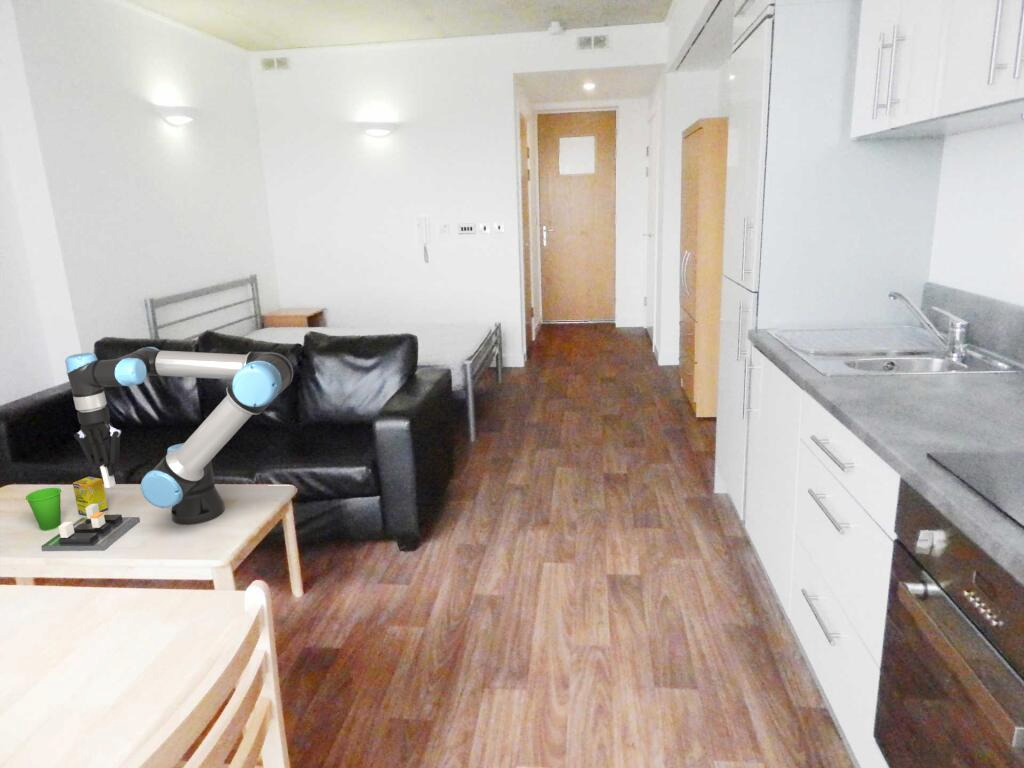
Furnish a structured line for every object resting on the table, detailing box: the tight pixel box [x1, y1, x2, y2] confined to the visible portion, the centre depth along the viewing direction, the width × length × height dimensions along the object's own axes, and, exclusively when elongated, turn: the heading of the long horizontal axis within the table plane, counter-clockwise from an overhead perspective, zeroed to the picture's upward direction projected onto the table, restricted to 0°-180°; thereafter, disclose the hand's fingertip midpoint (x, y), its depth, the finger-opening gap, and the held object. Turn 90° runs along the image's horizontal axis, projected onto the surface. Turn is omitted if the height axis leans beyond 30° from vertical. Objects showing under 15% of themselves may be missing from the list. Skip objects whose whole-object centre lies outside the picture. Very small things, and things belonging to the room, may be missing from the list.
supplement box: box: [72, 476, 109, 517], centre depth 214 cm, size 6×6×11 cm
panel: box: [40, 514, 140, 552], centre depth 199 cm, size 18×18×3 cm
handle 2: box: [85, 504, 99, 519], centre depth 204 cm, size 2×3×4 cm, turn 179°
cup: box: [25, 487, 62, 532], centre depth 205 cm, size 9×9×11 cm
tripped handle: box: [90, 512, 105, 528], centre depth 198 cm, size 2×3×4 cm, turn 179°
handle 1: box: [58, 521, 74, 538], centre depth 193 cm, size 2×3×4 cm, turn 179°
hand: (110, 485), depth 196 cm, fingers closed
